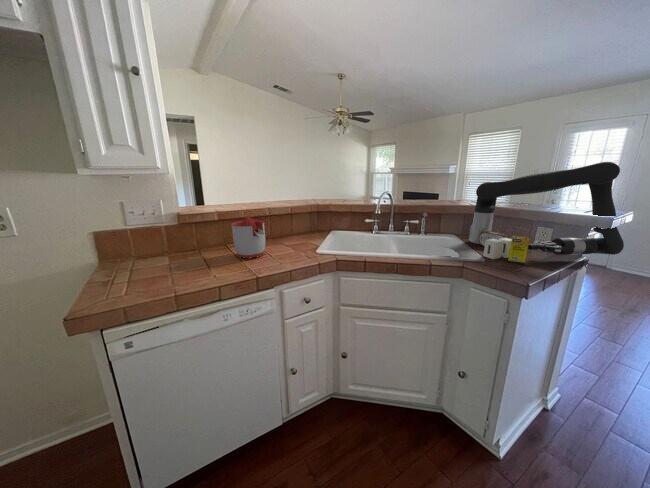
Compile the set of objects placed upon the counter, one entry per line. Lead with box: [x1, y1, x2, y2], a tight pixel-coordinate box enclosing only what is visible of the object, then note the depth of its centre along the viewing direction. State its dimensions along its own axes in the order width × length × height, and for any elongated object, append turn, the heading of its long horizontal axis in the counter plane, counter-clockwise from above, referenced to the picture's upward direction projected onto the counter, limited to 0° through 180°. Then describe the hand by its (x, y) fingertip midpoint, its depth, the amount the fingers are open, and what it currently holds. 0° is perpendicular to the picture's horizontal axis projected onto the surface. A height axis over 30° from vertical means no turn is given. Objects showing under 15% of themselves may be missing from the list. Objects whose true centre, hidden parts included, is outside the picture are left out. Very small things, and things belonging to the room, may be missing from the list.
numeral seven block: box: [498, 238, 512, 259], centre depth 120 cm, size 5×5×8 cm
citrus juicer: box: [230, 215, 266, 258], centre depth 125 cm, size 16×17×20 cm
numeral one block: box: [482, 239, 504, 260], centre depth 119 cm, size 5×5×8 cm
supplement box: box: [507, 235, 530, 265], centre depth 112 cm, size 6×6×11 cm
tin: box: [479, 230, 511, 247], centre depth 133 cm, size 15×3×8 cm, turn 32°
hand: (527, 246), depth 112 cm, fingers closed
